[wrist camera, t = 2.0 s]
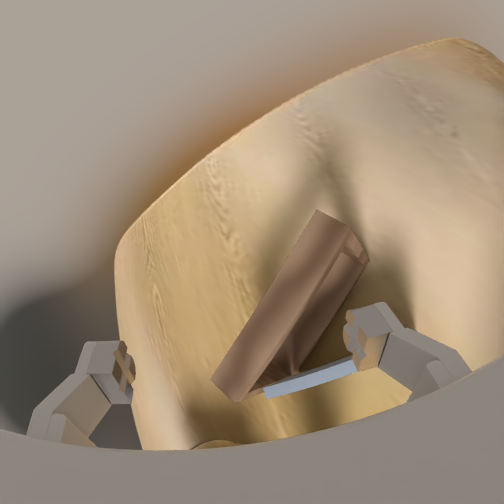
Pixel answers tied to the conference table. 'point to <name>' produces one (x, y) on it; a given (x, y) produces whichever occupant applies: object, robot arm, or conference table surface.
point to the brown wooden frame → (294, 309)
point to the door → (312, 377)
